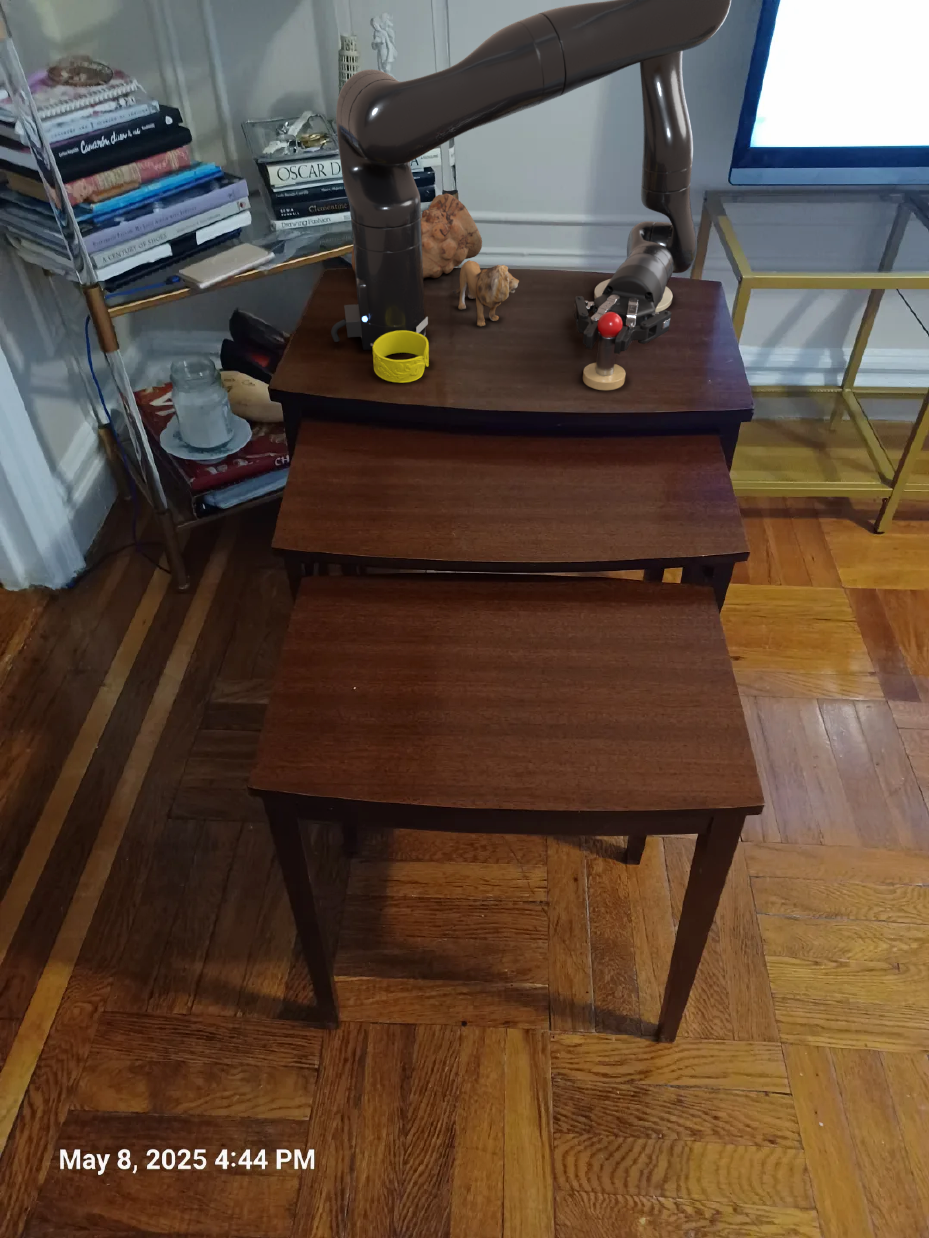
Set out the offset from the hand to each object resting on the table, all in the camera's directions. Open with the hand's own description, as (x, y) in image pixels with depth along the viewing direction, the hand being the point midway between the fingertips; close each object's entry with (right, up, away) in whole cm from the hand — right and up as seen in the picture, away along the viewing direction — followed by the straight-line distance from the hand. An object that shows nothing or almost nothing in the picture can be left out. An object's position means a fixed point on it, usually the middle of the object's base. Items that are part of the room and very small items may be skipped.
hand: (603, 344), depth 113 cm
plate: (+8, +15, +25) cm, 30 cm away
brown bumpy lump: (-27, +18, +27) cm, 43 cm away
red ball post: (+1, -3, +6) cm, 7 cm away
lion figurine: (-15, +11, +21) cm, 28 cm away
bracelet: (-27, -1, +9) cm, 28 cm away
